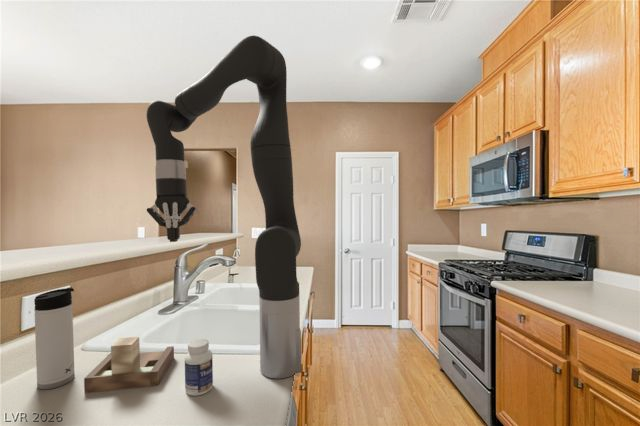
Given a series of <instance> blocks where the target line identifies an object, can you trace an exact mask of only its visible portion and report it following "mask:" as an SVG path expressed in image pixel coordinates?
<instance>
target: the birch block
mask: <svg viewBox="0 0 640 426" xmlns="http://www.w3.org/2000/svg"><path fill="white" fill-rule="evenodd" d="M140 351H141V350H140V336H128V337H120V338H119V337H118V339H117V340H116V341H115V342H114V343H113V344H111V345H110V353H111V367H112V375H113V374H123V373H134V372H137V371H138V370H139V368H140V353H141V352H140Z"/></svg>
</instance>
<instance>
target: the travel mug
mask: <svg viewBox="0 0 640 426" xmlns="http://www.w3.org/2000/svg"><path fill="white" fill-rule="evenodd" d="M72 292H75V290H74V288H73V287H72V286H71V287H67V288H61V289H60V288H59V289H54V290H50V291H46V292H43V293H40V294H39V295H36V296H34V297H35V298H34V302H33V303H34V331H35V334H34V335H35V361H36V362H35V363H36V364H35V365H36V366H35V367H36V385H37V386H36V387H37V389H39V390H52V389H55V388H60V387H62V386H64V385H66V384H68V383H70V382H72V380H73V379H74V378H75V376H76V375H75V353H74V352H75V350H74V349H75V346H74V320H73V319H74V316H73V300H72V299H73V297H72Z"/></svg>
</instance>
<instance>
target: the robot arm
mask: <svg viewBox="0 0 640 426" xmlns="http://www.w3.org/2000/svg"><path fill="white" fill-rule="evenodd" d="M287 74H288V73H287V63H286V59H285V57H284V55H283V54H282V53H281V51H280V50H278V48H277V47H275V46H274V45H272V44H271V43H269V42H268V41H267V40H266V39H264V38H262V37H260V36H258V35H249V36H247V37H244V38H243V39H241V41H239V42H238V43H237V44H236V45H235V46H233V48H231V49H230V50H229V51H228V52H227V54H225V55H224V57H222V58H221V59H220V60H219V61H218V62H217V63H216V64H215V65H214V66H213V67H212V68H211V69H210V70H209V71H208V72H207V73H206V74H205V75H204V76H202V77H201V78H200V79H198V80H197V81H196V82H194V83H192V84H191V85H190V86H188V87H186V88H185V89H183V90H181V91H180V92H179V93H178V94H177V95H176V96H175V98H174V104H172V103H169V102H166V101H162V100H153V101H152V102H150V103H149V105H148V107H147V109H146V121H147V124H148V128H149V131H150V134H151V137H152V140H153V143H154V148H155V171H154V174H155V190H156V191H155V192H156V193H155V194H156V199H155V200H154V204H153V205H152V206H151V207H147V208H146V212H147V213H148V214H149V215H150V216H151V218H153V220H154V221H155V222H156V223H157V224H158V225H159V226H160V227H164V228H166V233H167V234H166V238H167V240H168V241H169V243H177V242H178V240H180V238H181V233H180V231H181V230H180V228H181V227H182V226H185V225H188V224H187V223H188V222H189V221H190V219H191V218H193V216H194V214H195V213H196V212H197V211H198V207H197V206H194V205H193V204H192V203H190V200H189V198H188V193H187V192H188V189H187V171H186V170H187V169H186V164H185V148H184V143H183V141H182V140H180V139H178V138H176V137H175V136H173V134H172V132H173V133H181V132H184V131H187V130H188V129H189V128H190V127H191V126H192V125H193V124H194V122H196V120H197V118H198V117H200V116H202V115H204V114H206V113H207V112H209V111H211V110H212V109H213V108H215V107H216V106H217V105H218V104H219V103H220V101H221V100H222V97H223V95H224V93H226V90H227V89H228V88H229V87H231V86H232V85H234V84H236V83H238V82H241V81H245V80H247V81H249V82H251V83H253V84H255V85H256V89H257V93H258V103H259V113H258V117H257V120H256V122H255V125H254V128H253V131H252V133H251V138H250V143H249V144H250V156H251V165H252V172H253V175H254V179H255V183H256V185H257V187H258V191H259V194H260V196H261V199H262V203H263V207H264V215H265V216H264V217H265V229H264V230H262V231H261V232H260V234H258V236H257V239H256V241H255V245H254V246H255V247H254V248H255V250H254V256H255V257H254V261H255V263H254V265H255V266H254V267H255V282H256V285H257V288H258V297H259V299H258V300H259V301H258V302H259V303H258V304H259V365H260V367H259V368H260V369H259V370H260V373H261V374H262V375H263V376H265V377H267V378H270V379H285V378H289V377H292V376H294V375H297V374H300V373H301V374H302V331H301V326H300V324H301V323H300V321H301V320H300V319H301V318H300V314H301V312H300V283H299V281H298V277H297V257H298V255H299V253H300V251H301V247H302V239H301V235H300V230H299V225H298V219H297V215H296V210H295V201H294V200H295V198H294V177H293V176H294V175H293V173H294V172H293V161H292V160H293V157H292V148H291V140H290V133H289V132H290V131H289V119H288V118H289V117H288V107H287V106H288V105H287V83H288V82H287V81H288V80H287ZM185 210H186V213H185V215H184V216H183V217H182V214H183V213H184V212H185ZM159 211H160V212H161V213H162V215H163V216H164V217H163V216H161V214H160V213H159Z"/></svg>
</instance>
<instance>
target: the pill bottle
mask: <svg viewBox="0 0 640 426" xmlns="http://www.w3.org/2000/svg"><path fill="white" fill-rule="evenodd" d="M209 343H210V342H209V340H208V339H206V338H198V339H193V340H191V341H190V342H188V344H187V351H188V352H187V354H186V355H185V357H184V387H185V388H184V389H185V393H186V394H187V395H189V396H192V397H193V396H195V397H196V396H202V395H204V394H207V393H208V392H210V391H211V390H212V388H213V386H214V385H213V383H214V378H213V377H214V375H213V373H214V372H213V371H214V370H213V369H214V367H213V351H211V349H209V347H210V346H209Z"/></svg>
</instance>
